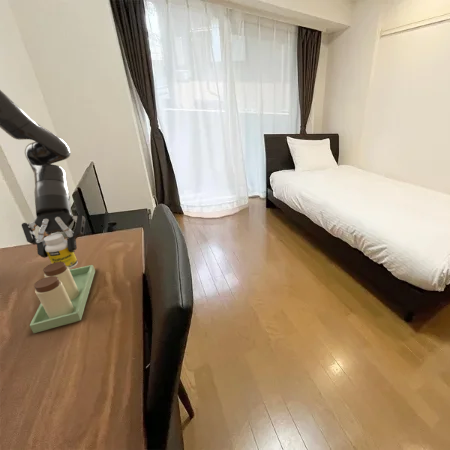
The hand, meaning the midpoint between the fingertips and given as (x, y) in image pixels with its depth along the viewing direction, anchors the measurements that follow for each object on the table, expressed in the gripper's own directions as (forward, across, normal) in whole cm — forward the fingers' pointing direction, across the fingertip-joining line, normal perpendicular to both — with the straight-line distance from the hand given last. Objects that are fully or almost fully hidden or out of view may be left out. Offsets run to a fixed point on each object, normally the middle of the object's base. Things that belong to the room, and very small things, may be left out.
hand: (58, 253), depth 75 cm
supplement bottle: (+3, 0, +5) cm, 6 cm away
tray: (+12, 0, +4) cm, 12 cm away
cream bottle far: (+16, 0, -1) cm, 16 cm away
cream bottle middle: (+11, 0, +4) cm, 12 cm away
